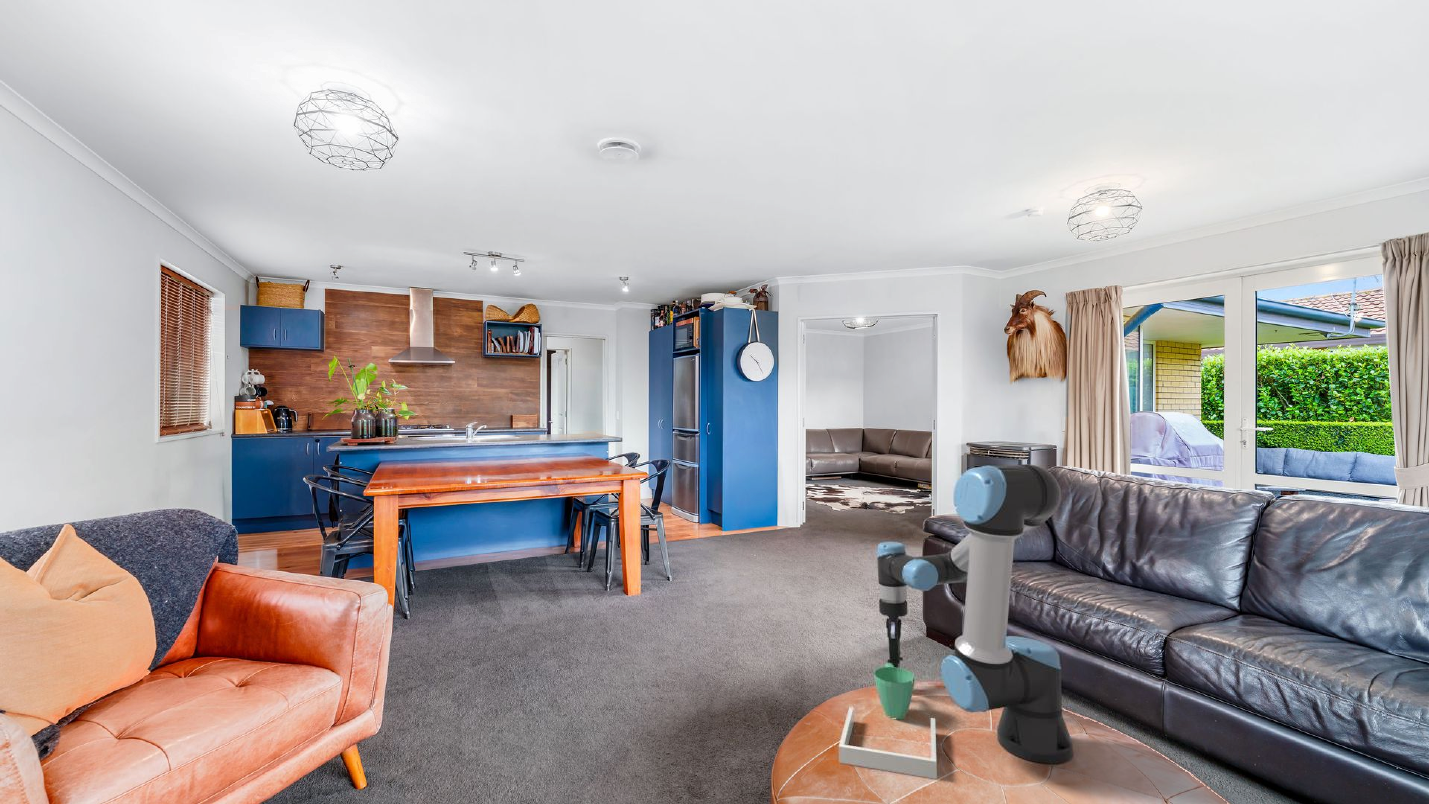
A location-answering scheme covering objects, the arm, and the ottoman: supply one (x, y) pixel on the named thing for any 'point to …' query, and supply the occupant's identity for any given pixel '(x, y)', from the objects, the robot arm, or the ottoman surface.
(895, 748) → the ottoman surface
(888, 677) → the mug
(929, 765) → the corral
